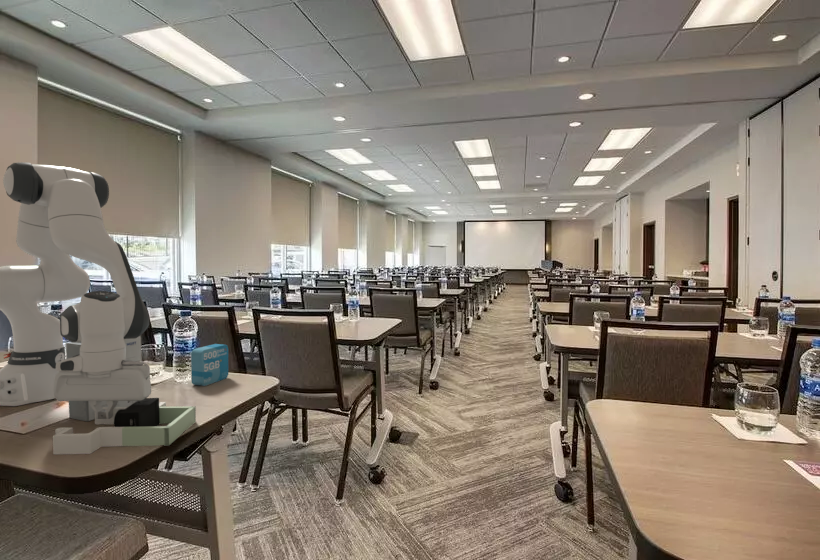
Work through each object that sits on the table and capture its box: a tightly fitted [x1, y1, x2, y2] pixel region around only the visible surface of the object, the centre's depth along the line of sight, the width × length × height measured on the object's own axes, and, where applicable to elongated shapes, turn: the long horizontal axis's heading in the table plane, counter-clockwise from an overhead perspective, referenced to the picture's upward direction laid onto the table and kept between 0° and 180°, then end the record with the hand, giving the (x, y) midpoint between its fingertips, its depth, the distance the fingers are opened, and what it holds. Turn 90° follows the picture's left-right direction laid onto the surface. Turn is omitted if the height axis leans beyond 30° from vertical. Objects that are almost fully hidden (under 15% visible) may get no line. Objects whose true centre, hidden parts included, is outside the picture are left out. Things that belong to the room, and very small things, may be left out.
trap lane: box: [52, 401, 197, 455], centre depth 102 cm, size 24×21×4 cm
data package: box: [190, 343, 229, 387], centre depth 144 cm, size 12×4×12 cm, turn 161°
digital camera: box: [113, 397, 160, 427], centre depth 102 cm, size 10×5×7 cm, turn 8°
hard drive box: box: [65, 334, 143, 422], centre depth 116 cm, size 16×8×20 cm, turn 159°
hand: (104, 418), depth 101 cm, fingers closed
